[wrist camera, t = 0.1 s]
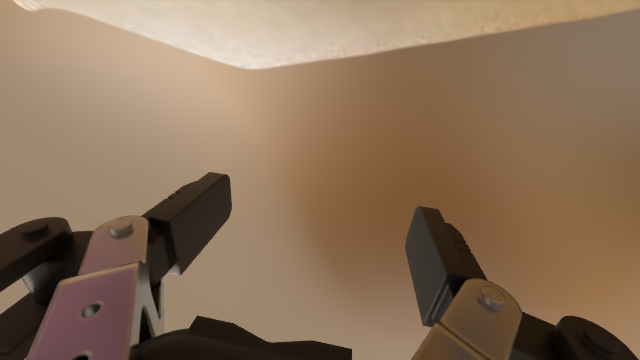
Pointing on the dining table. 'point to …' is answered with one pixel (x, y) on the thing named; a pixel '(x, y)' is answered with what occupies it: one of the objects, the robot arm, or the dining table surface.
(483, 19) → the dining table surface
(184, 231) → the robot arm
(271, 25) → the dining table surface
